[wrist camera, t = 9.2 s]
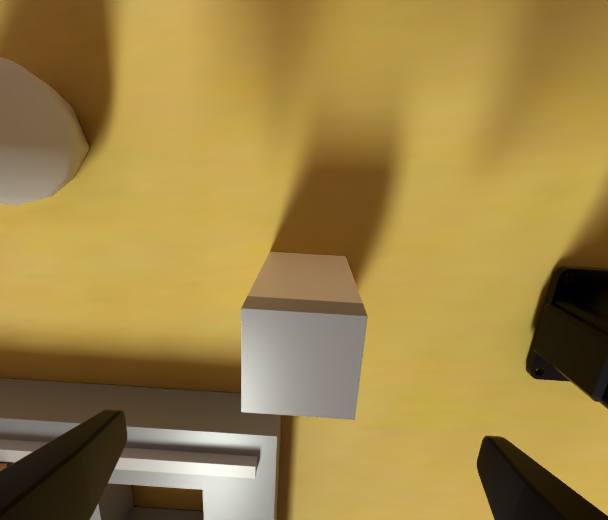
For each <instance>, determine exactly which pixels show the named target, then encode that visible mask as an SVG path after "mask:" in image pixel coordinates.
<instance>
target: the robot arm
mask: <svg viewBox="0 0 608 520" xmlns="http://www.w3.org/2000/svg"><path fill="white" fill-rule="evenodd" d="M566 274H568V277H567V278H566V279H565V280H564V276H565V275H566ZM538 368H539V369H538ZM536 369H538V370H537V371H536ZM526 371H527V372H528V373H529V374H530V375H531V376H532V377H533V378H535V379H543V380H558V381H571V382H572V383H573V384H574V385H576V386H577V387H578V388H579V389H580V390H582V391H583V392H584V393H585V394H586V395H588V396H589V397H590V398H591V399H592V400H594V401H596V402H600V403H601V404H602V405H604V406H605V407H606V408H607V409H608V269H601V268H584V267H568V266H564V267H560V268H558V269H557V270H556V271H555V272H554V274H553V277H552V281H551V284H550V287H549V291H548V294H547V298H546V301H545V304H544V308H543V311H542V315H541V318H540V321H539V325H538V328H537V332H536V335H535V338H534V342H533V345H532V349H531V352H530V355H529V359H528V362H527V366H526ZM126 442H127V427H126V419H125V413H124V411H123V410H119V409H105V410H103V411H101V412H100V413H98V414H96V415H94V416H93V417H91V418H89V419H88V420H86V421H84V422H83V423H81V424H79V425H78V426H76V427H74V428H72V429H71V430H69V431H67V432H66V433H64V434H62V435H61V436H59V437H57V438H55V439H54V440H52V441H50V442H49V443H47V444H45V445H44V446H42V447H40V448H38V449H37V450H35V451H33V452H32V453H30V454H28V455H27V456H25V457H23V458H22V459H20V460H18V461H16V462H15V463H13V464H11V465H10V466H8V467H6V468H5V469H3V470H1V471H0V520H90V519H91V517H92V515H93V513H94V511H95V509H96V507H97V505H98V503H99V501H100V499H101V497H102V495H103V492H104V490H105V488H106V486H107V484H108V482H109V480H110V478H111V475H112V473H113V471H114V469H115V467H116V465H117V463H118V461H119V458H120V456H121V454H122V452H123V450H124V448H125V445H126ZM477 469H478V473H479V476H480V479H481V482H482V485H483V488H484V491H485V494H486V496H487V499H488V502H489V505H490V508H491V511H492V514H493V517H494V520H608V516H607V515H606V514H604V513H603V512H602V511H600V510H599V509H598V508H596V507H595V506H594V505H592V504H591V503H590V502H588V501H587V500H586V499H584V498H583V497H582V496H580V495H579V494H578V493H576V492H575V491H574V490H573V489H571V488H570V487H569V486H567V485H566V484H565V483H563V482H562V481H561V480H559V479H558V478H557V477H555V476H554V475H553V474H551V473H550V472H549V471H547V470H546V469H545V468H543V467H542V466H541V465H539V464H538V463H537V462H535V461H534V460H533V459H532V458H530V457H529V456H528V455H526V454H525V453H524V452H522V451H521V450H520V449H518V448H517V447H516V446H514V445H513V444H512V443H510V442H509V441H508V440H506V439H505V438H503V437H500V436H485V437H484V438H483V440H482V444H481V448H480V451H479V455H478V459H477Z"/></svg>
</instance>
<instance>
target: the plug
mask: <svg viewBox="0 0 608 520" xmlns="http://www.w3.org/2000/svg"><path fill="white" fill-rule="evenodd" d="M366 324H367V314H366V311H365V308H364V305H363V303H362V300H361V297H360V294H359V292H358V289H357V286H356V283H355V281H354V278H353V275H352V272H351V270H350V267H349V264H348V261H347V259H346V256H333V255H317V254H300V253H284V252H269V254H268V256H267V258H266V260H265V262H264V264H263V266H262V268H261V270H260V272H259V274H258V276H257V278H256V280H255V282H254V284H253V286H252V288H251V290H250V292H249V294H248V296H247V298H246V300H245V302H244V304H243V306H242V308H241V412H246V413H262V414H277V415H292V416H307V417H322V418H338V419H353V420H355V413H356V405H357V397H358V389H359V381H360V373H361V365H362V357H363V349H364V341H365V332H366Z"/></svg>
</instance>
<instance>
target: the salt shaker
mask: <svg viewBox="0 0 608 520" xmlns="http://www.w3.org/2000/svg"><path fill="white" fill-rule="evenodd" d="M89 149H90V148H89V145H88V143H87V141H86V138H85V136H84V133H83V131H82V128H81V126H80V123H79V121H78V118H77V116H76V113H75V111H74V109H73V108H72V107H71V106H70V105H69V104H68V103H67V102H66V101H65V100H64V99H63V98H62V97H61V96H60V95H59V94H58V93H57V92H56V91H55V90H54V89H53V88H52V87H50V86H49V85H48V84H46V83H45V82H44V81H42V80H41V79H39V78H38V77H37V76H35V75H34V74H32V73H31V72H30V71H28V70H27V69H25V68H24V67H23V66H21V65H19V64H17V63H15V62H14V61H12V60H9V59H5V58H1V57H0V204H8V205H20V204H24V203H28V202H32V201H35V200H39V199H43V198H47V197H50V196H53V195H54V194H55V193H57V192H58V191H59V190H60V189H62V188H63V187H64V186H65V185H66V184H68V183H69V182H70V181H71V180H73V179H74V177H75V175H76V173H77V171H78V169H79V167H80V166H81V164H82V162H83V160H84V158H85V156H86V155H87V153H88V151H89Z"/></svg>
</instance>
